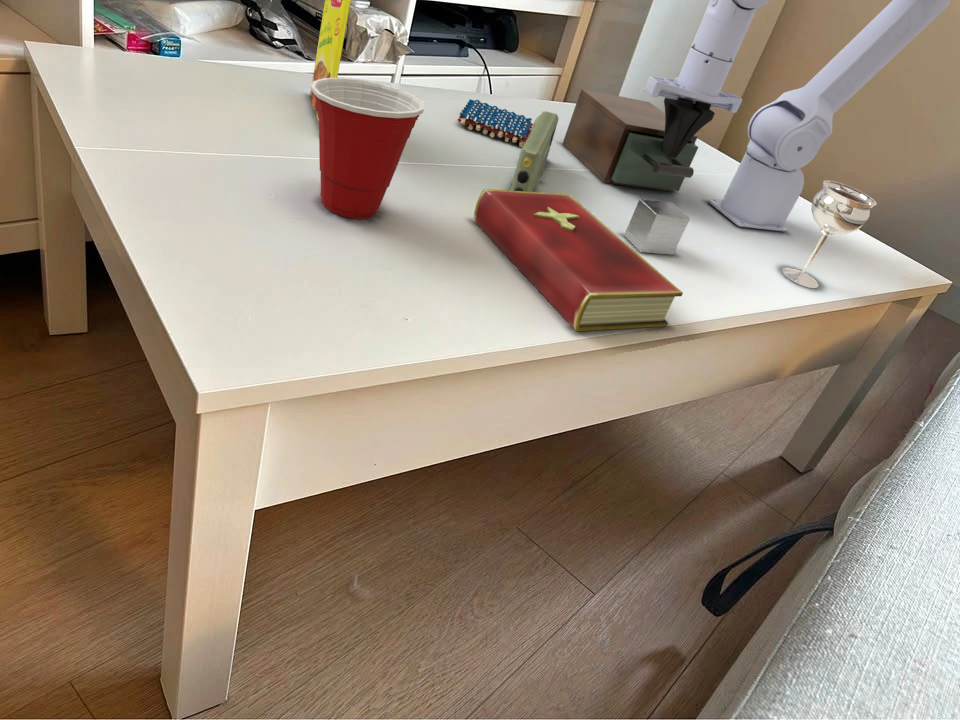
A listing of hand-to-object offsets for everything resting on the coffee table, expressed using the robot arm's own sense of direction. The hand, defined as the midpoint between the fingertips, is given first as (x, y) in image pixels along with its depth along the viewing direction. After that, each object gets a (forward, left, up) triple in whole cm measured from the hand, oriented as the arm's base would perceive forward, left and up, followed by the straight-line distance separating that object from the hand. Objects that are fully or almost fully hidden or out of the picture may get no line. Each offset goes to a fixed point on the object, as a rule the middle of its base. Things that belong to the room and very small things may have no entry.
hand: (668, 154), depth 105 cm
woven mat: (+17, -19, -7) cm, 26 cm away
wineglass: (-11, +21, -7) cm, 24 cm away
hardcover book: (+26, +23, -7) cm, 35 cm away
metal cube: (+10, +15, -6) cm, 19 cm away
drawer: (0, -5, -6) cm, 8 cm away
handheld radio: (+21, +1, -7) cm, 22 cm away
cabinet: (0, -10, -6) cm, 12 cm away
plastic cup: (+47, +12, -7) cm, 49 cm away
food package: (+45, -13, -7) cm, 47 cm away
